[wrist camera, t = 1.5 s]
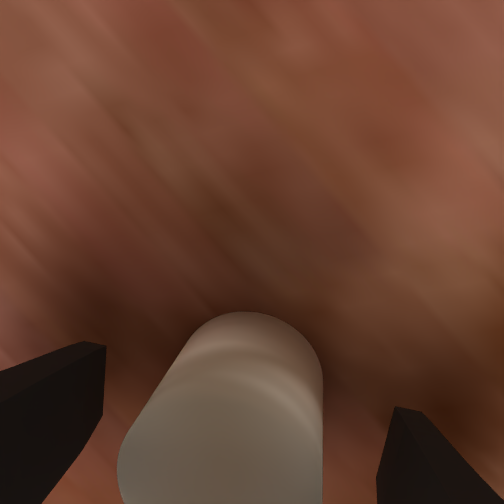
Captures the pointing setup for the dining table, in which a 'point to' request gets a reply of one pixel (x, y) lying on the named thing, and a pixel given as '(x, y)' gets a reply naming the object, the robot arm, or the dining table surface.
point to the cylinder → (231, 420)
